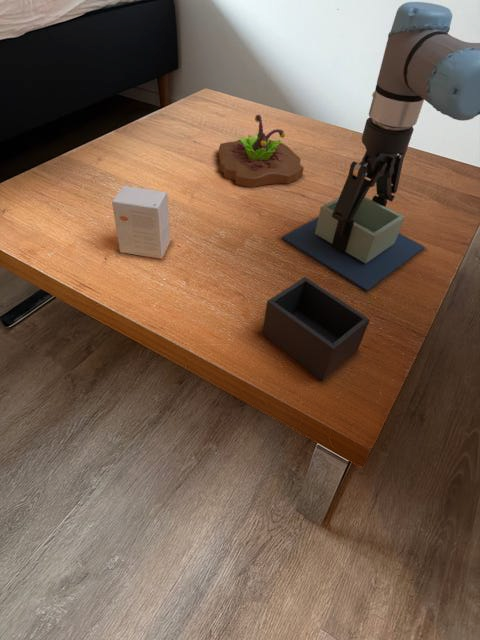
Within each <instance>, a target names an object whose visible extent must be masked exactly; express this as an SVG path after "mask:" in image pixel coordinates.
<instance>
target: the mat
mask: <svg viewBox="0 0 480 640" xmlns="http://www.w3.org/2000/svg"><path fill="white" fill-rule="evenodd" d="M318 218H319V216H317V217H315V218H314V219H313V220H311V221H308V222H307V223H305V224H303V225H301V226H299V227H297V228H296V229H294V230H292V231H291V232H289V233H287V234H285V235H283V236H281V240H283V241H284V242H286V243H287V244H289V245H291V246H292V247H294V248H295V249H297V250H299V251H301V252H302V253H303V254H304V255H307V256H308V257H310V258H312V259H313V260H315V261H316V262H318V263H320V264H321V265H322V266H324V267H326V268H328V269H329V270H330V271H332V272H334V273H335V274H337V275H339V276H340V277H342V278H344V279H345V280H347V281H348V282H350V283H351V284H353V285H355V286H357V287H358V288H359V289H361V290H363V291H365V292H366V293H367V292H369V291H370V290H371V289H372V288H374V287H375V286H377V285H378V284H379V283H380V282H382V281H383V280H385V279H386V278H387V277H389V276H390V275H391V274H392V273H394V272H395V271H397V270H398V269H399V268H400V267H402V266H403V265H405V264H406V263H407V262H408V261H410V260H411V259H413V258H414V257H416V255H418V254H419V253H420V252H421V251H423V250H425V246H424V245H422V244H421V243H419V242H416V241H415V240H413V239H411V238H409V237H407V236H405V235H403V234H402V233H400V232H399V234H398V236H397V239H396V241H395V244H393V245H392V246H390V247H389V248H387V249H386V250H384V251H383V252H382V253H380V254H379V255H377V256H376V257H374V258H373V259H371V260H370V261H369V262H367V263H364V262H362V261H360V260H359V259H357V258H355V257H354V256H352V255H350V254H348V253H347V252H345V251H344V252H342V251H340V250H338V249H337V248H335V247H333V246H332V244H331V243H330V242H328V241H326V240H325V239H323V238H321V237H320V236H318V235H316V234H315V231H316V226H317V222H318Z"/></svg>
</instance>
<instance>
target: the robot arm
mask: <svg viewBox="0 0 480 640" xmlns="http://www.w3.org/2000/svg"><path fill="white" fill-rule="evenodd" d="M452 20H453V13H452V10H451V9H450V8H448V7H446V6H444V5H441V4H436V3H431V2H426V1H425V2H424V1H408V2H404V3H402V4H400V6H398V8H397V10H396V13H395V16H394V19H393V22H392V25H391V28H390V31H389V32H388V34H387V41H386V45H385V49H384V52H383V55H382V56H383V57H382V61H381V64H380V69H379V72H378V76H377V79H376V85H375V89H374V91H373V92H372V94H371V97H372V99H371V104H370V107H369V110H368V116H369V117H368V118H367V119H366V120H365V125H364V129H363V132H362V135H361V143H362V144H363V145H364V147H365V152H364V155H363V157H362V159H361V161H360V162H357V161H355V160H354V161H352V162H351V163H350V166H349V171H348V173H347V174H348V175H347V178H346V180H345V182H344V184H343V187H342V190H341V192H340V195H339V197H338V198H339V199H338V202H337V204H336V207H335V209H334V211H333V214H332V217H333V218H335V219H337V220H338V224H337V227H336V231H335V235H334V239H333V242H332V246H333V247H335V248H337V249H338V250H340V251H342V252H344V251H346V247H347V244H348V241H349V237H350V234H351V231H352V227H353V224H354V220H352V219H353V217H354V215H355V213H356V212H357V210H358V208H359V206H360V204H361V203H362V201H363V199H364V197H366V196H367V194H368V192H369V190H370V189H371V188H373V187H376V189H375V190H376V195H374V196H373V197H372V199H371V200H373V201H375V202H377V203H379V204H381V205H383V206H384V207H386V206H387V203H388V201H389V202H390V203H392V202H393V201H394V199H395V198H396V196H395V195H394V194H396V193H397V191H398V187H399V183H400V178H401V173H402V168H403V163H404V158H405V156H406V154H407V151H408V147H409V145H410V142H411V139H412V135H413V133H414V126H416V124H417V123H418V119H419V117H420V114H421V111H422V107H423V104H424V101H425V102H426V103H428V104H429V105H431V106H432V108H433V109H435V110H436V111H437V112H439V113H440V114H442V115H445V116H448V117H450V118H451V119H452V120H456V121H459V122H460V121H471V120H473V119H474V118H475V117H478V116H479V115H480V42H469V41H464V40H461V39H458V38H457V37H454V36H452V35H451V34H449V32H450V30H451V25H452ZM386 208H387V207H386Z"/></svg>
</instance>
